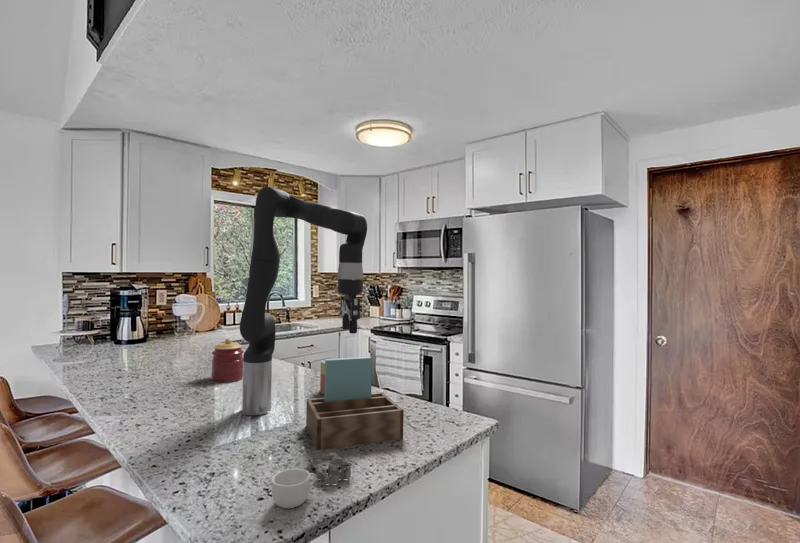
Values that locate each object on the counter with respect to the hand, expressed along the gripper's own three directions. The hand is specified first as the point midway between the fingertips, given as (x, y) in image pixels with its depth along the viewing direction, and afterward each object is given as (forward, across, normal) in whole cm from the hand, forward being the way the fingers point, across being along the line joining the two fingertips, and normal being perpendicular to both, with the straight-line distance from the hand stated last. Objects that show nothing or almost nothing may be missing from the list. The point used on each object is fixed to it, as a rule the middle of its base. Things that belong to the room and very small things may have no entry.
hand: (349, 331), depth 129 cm
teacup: (+30, +36, -20) cm, 51 cm away
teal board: (+28, 0, 0) cm, 28 cm away
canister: (+30, -74, -35) cm, 87 cm away
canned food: (+30, -41, +5) cm, 51 cm away
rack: (+30, +7, 0) cm, 30 cm away
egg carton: (+30, +26, -11) cm, 42 cm away
